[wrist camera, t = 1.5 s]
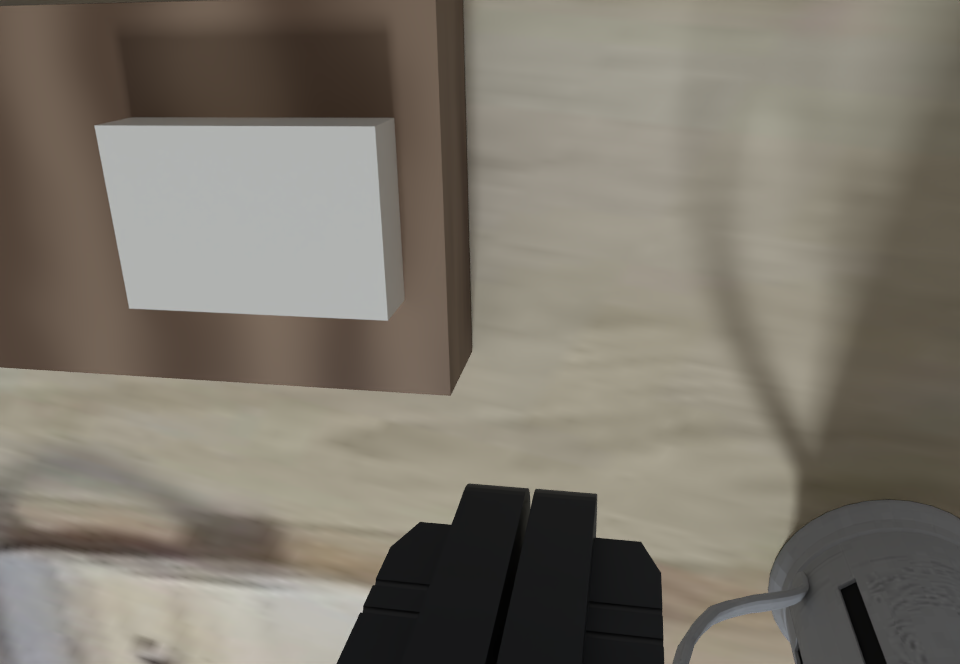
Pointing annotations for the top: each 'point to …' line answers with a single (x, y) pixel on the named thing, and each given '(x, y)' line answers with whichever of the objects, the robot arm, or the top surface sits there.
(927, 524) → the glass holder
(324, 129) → the white rectangular block
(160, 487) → the top surface
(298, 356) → the deck
